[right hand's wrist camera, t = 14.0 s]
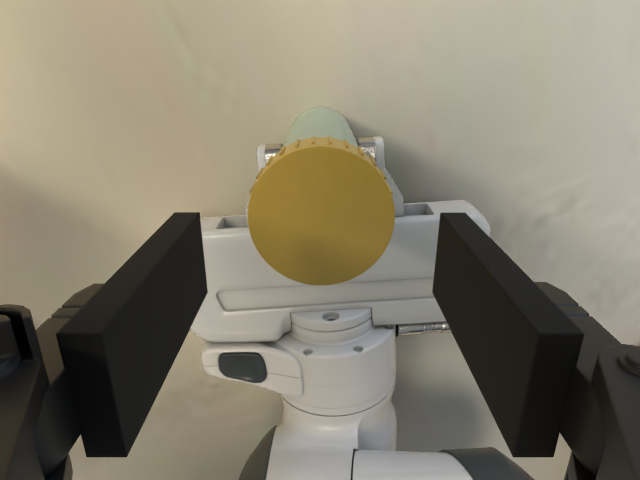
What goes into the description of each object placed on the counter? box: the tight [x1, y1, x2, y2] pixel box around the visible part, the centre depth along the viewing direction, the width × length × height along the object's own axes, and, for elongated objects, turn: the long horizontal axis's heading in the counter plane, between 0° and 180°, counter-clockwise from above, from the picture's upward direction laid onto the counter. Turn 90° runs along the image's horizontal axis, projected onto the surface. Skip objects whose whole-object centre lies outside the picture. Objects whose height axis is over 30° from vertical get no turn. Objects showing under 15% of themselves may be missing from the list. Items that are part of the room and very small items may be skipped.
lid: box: [247, 135, 395, 286], centre depth 17 cm, size 6×6×2 cm
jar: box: [283, 107, 358, 147], centre depth 25 cm, size 5×5×17 cm
